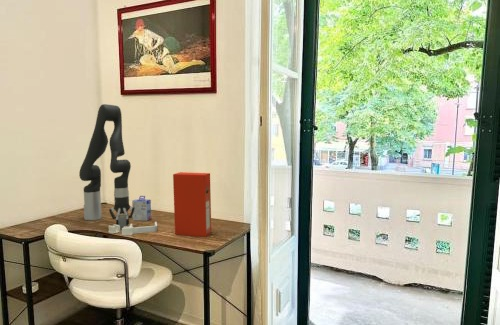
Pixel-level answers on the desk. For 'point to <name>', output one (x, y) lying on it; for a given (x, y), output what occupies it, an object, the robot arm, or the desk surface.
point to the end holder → (144, 229)
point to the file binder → (192, 204)
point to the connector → (122, 221)
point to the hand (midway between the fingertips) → (122, 225)
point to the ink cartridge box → (141, 209)
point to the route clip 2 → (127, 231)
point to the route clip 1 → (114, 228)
